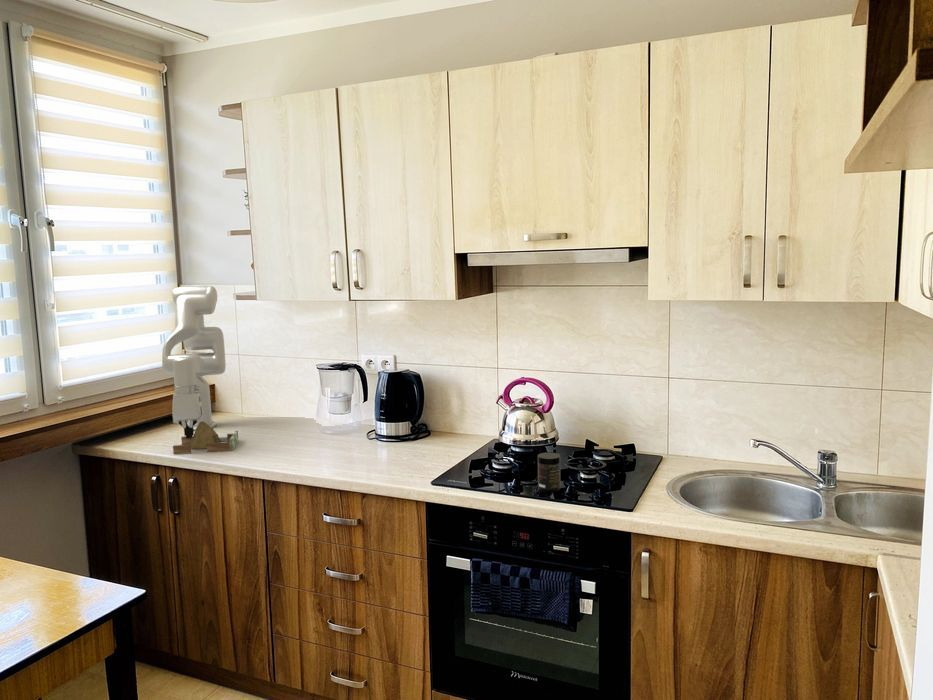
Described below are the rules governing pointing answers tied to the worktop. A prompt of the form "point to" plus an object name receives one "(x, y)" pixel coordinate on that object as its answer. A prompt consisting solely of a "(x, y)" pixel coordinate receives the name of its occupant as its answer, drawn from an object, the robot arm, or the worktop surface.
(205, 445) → the rock
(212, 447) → the box
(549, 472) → the supplement container
